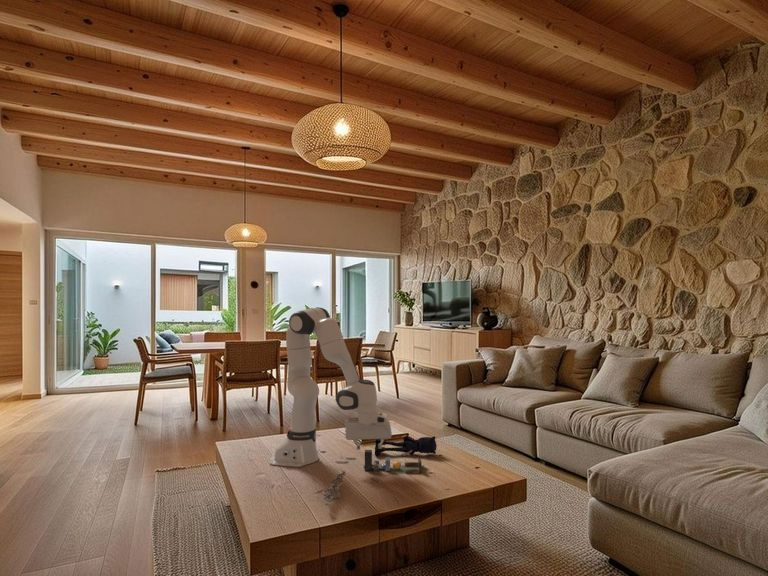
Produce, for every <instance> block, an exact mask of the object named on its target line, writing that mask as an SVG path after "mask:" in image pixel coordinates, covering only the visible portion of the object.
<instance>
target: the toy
mask: <svg viewBox="0 0 768 576" xmlns="http://www.w3.org/2000/svg"><path fill="white" fill-rule="evenodd" d="M401 439H402V440H403V441H401V442H400V441H399V442H396V441H395V442H394V441H386V439H384V442H383V443H382V449H378V444H380V443H381V440H380V439H375V446H374V455H377V456H378V455H380V454H382V453H383V452H399V453H401V455H400V456H401V457H406V456H408V455H414V454H415V453H420V454H433V455H436V454H437V453H436V450H437V441H436V436H435V435H434V436H432V437H431V436H430V437H429V436H423V437H419V438H418V439H415V438H412V436H410V435H407V434H406V435H402V436H401ZM386 445H389V446H393V447H385V446H386Z"/></svg>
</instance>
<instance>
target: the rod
mask: <svg viewBox="0 0 768 576" xmlns="http://www.w3.org/2000/svg"><path fill="white" fill-rule="evenodd" d="M384 461H385V463H384V464H382V463H381V464H380V463H379V464H373V449H365V450H364V464H363V470H364V471H365V472H366V471H367V472H369V471H371V472H372V471H373V470H374V465H379V470H385V471H386V472H390V471H391V457H390V456H385V460H384Z"/></svg>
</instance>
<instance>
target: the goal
mask: <svg viewBox="0 0 768 576" xmlns="http://www.w3.org/2000/svg"><path fill="white" fill-rule="evenodd" d="M404 465H405V467H414V466H418V467H419V469H405V473H422V466H421V465H422V459H421V453H420V454H418V455H417V461H405V462H404Z"/></svg>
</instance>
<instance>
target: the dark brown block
mask: <svg viewBox="0 0 768 576" xmlns="http://www.w3.org/2000/svg"><path fill="white" fill-rule="evenodd" d="M374 464H380V460H374ZM379 471H380V469H379V465H374V469H373V473H379Z"/></svg>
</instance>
